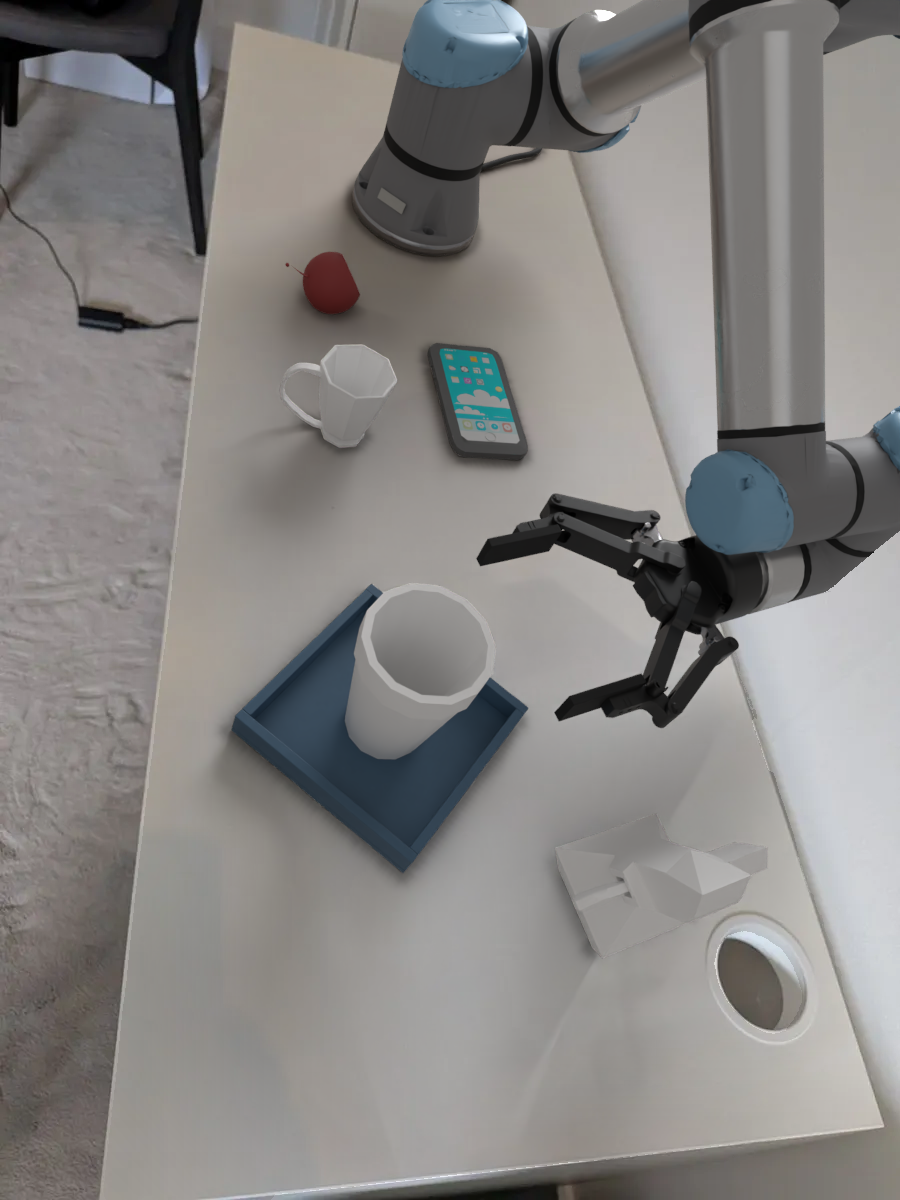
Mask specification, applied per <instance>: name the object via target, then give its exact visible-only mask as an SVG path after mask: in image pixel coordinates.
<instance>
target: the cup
mask: <svg viewBox="0 0 900 1200" xmlns="http://www.w3.org/2000/svg"><path fill="white" fill-rule="evenodd" d="M299 372H306V373H309V374H311V375H313V376H316V377H318V378H319V387H318V388H319V389H318V407H319V414H320V415H319V417H320V419H316V418H315V417H312V416H311V415H309V414H308V413H306V412H305V411H304V410H302V409H301V407H299V406H298V405H297V404H296V403H294V401H292V400H291V398H290V397H289V396H288V395H287V394H286V390H285V385H286V383H287V381H288V379H289V378H290V377H291V376H292V375H295V374H297V373H299ZM282 376H283V377H282V378H281V382H280V384H279V390H278V391H279V395H280V400H281V401H282V403H283V404H284V406H285V407H286V408H287V409H289V411H290V412H292V413H293V414H294V415H295V416H296V417H298V418H299V419H300V420H301V421H302V422H304V423H306V424H308V425H309V426H311V427H313V428H317V429H320V433H321V435H322V438H323V440H324V441H326V442H328V443H329V444H331V445H333V446H335V447H337V448H339V449H343V448H356V447H357V446H358V445H359V444H360V442H361V441H362V440H363V438H364V437H365V435H366V431H367V430H368V429H369V428H370V426H371V425H372V423H373V422H374V421H375V419H376V418H377V417H378V416H379V415H380V413H381V410H382V408H383V407H384V406H385V404H386V401H387V399H388V398H389V397H390V395H391V393H392V391H394V388H395V386H396V385H397V382H398V378H397V376H396V373H395V371H394V368H393V366H392V364H391V361H390V359H389V358H388V357H386V356H384V355H383V354H381V353H379V352H377V351H376V350H374V349H373V348H370V347H369V346H367V345H365V344H357V343H356V344H334V345H333V347H332V348H331V349H330V350H329V351H328V352H327V353H326V354H325V356H323V357H322V359H320V364H317V363H312V362H297V363H295V364H293V365H291V366H290V367H288V368H287V370H286V371H285V373H284V374H283V375H282Z"/></svg>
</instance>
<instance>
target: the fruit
mask: <svg viewBox="0 0 900 1200" xmlns="http://www.w3.org/2000/svg"><path fill="white" fill-rule="evenodd" d="M290 266H291V267H292V268H294V269H295V271H297V272H298V273H299V274H300V275H302V288H303V292H304V295H305V297H306V299H307V300H308V302H309V304H310V305H311V306H312V308H314V310H316V311H318V312H321V313H323V314H326V315H327V314H328V315H337V314H342V313H344V312H347V311H348V310H351V308H352V307H354V305H355V304H357V302H358V300H359V298H360V296H361V292H360V290H359V288H358V285H357V283H356V280H355V278H354V277H353V274H352V272H351V269H350V267H349V265H348V263H347V261H346V258H345V256H344V254H343V253H341V252H338V251H324V252H321V253H319V254H317V255H315V256H314V257H312V258H311V259H310V261H309V262H308V263H307V264H306V266H305V268H304V270H303V272H301V271H300V270H298V269H297V268H296V267H294V266H293V265H290V263H289V262H286V263H285V267H286V268H289V267H290Z"/></svg>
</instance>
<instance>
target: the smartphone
mask: <svg viewBox="0 0 900 1200" xmlns="http://www.w3.org/2000/svg"><path fill="white" fill-rule="evenodd" d="M427 358H428V362H429V366H430V370H431V374H432V375H431V376H432V378H433V383H434V386H435V390H436V394H437V398H438V402H439V406H440V409H441V414H442V418H443V422H444V426H445V429H446V433H447V437H448V443H449V444H450V445H451V448H452V450H453V452H454V453H455V454H456V455H458V456H459V457H462V458H475V459H492V460H493V459H495V460H515V461H520V460H522V459H523V458H525V456H526V455H527V452H528V451H529V445H528V441H527V438H526V434H525V431H524V428H523V425H522V421H521V418H520V414H519V411H518V408H517V405H516V402H515V399H514V395H513V393H512V392H513V391H512V389H511V385H510V383H509V378H508V375H507V373H506V369H505V366H504V362H503V359H502V357H501V356H500V353H499V352H498V351H497V350H495V349H493V348H491V347H483V346H472V345H464V344H463V345H461V344H453V343H443V342H436V343H433V344H431V345H430V346H429V348H428V350H427Z"/></svg>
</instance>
